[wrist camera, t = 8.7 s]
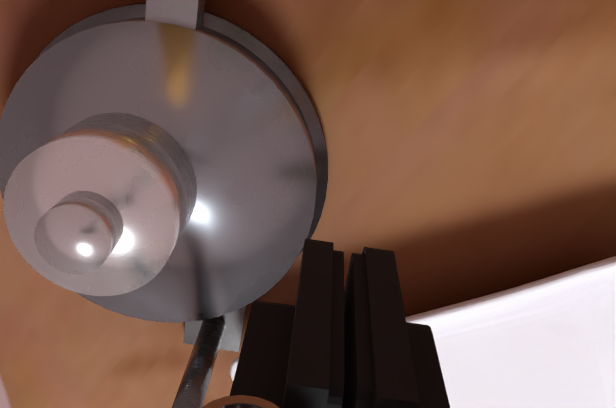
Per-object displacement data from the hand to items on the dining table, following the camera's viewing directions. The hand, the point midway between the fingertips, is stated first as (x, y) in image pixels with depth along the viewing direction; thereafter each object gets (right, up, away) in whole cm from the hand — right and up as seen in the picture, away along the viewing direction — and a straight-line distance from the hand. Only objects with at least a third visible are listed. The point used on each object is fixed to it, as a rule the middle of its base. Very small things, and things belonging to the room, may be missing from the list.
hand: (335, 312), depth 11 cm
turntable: (-7, +5, +15) cm, 17 cm away
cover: (-9, +3, +14) cm, 17 cm away
